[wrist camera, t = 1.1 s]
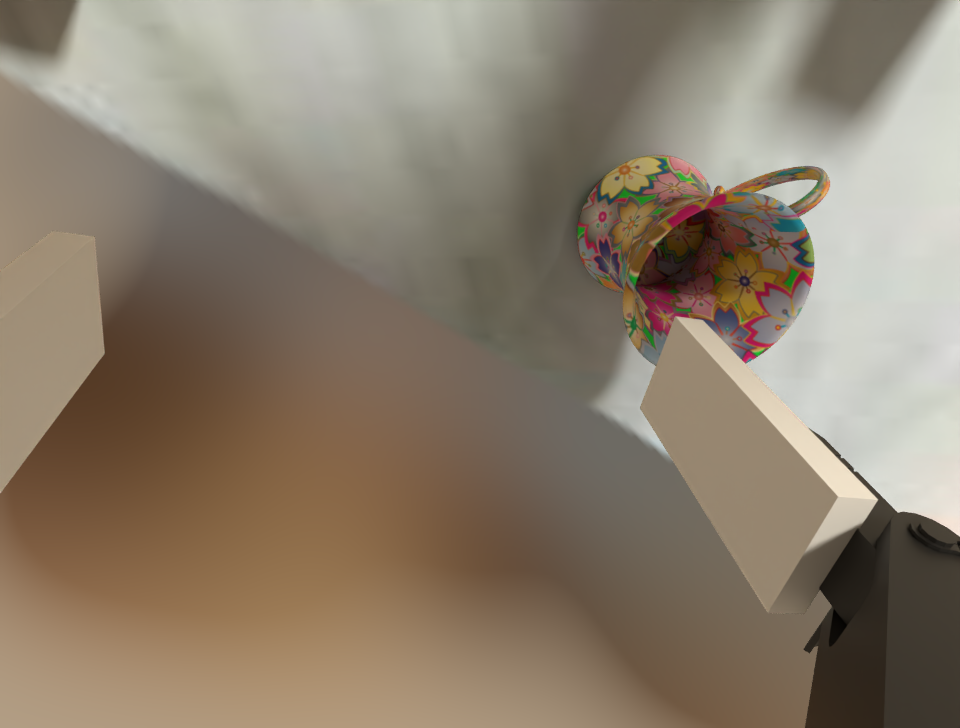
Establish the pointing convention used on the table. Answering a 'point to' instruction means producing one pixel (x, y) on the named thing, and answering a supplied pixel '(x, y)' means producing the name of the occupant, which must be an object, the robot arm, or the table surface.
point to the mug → (700, 252)
